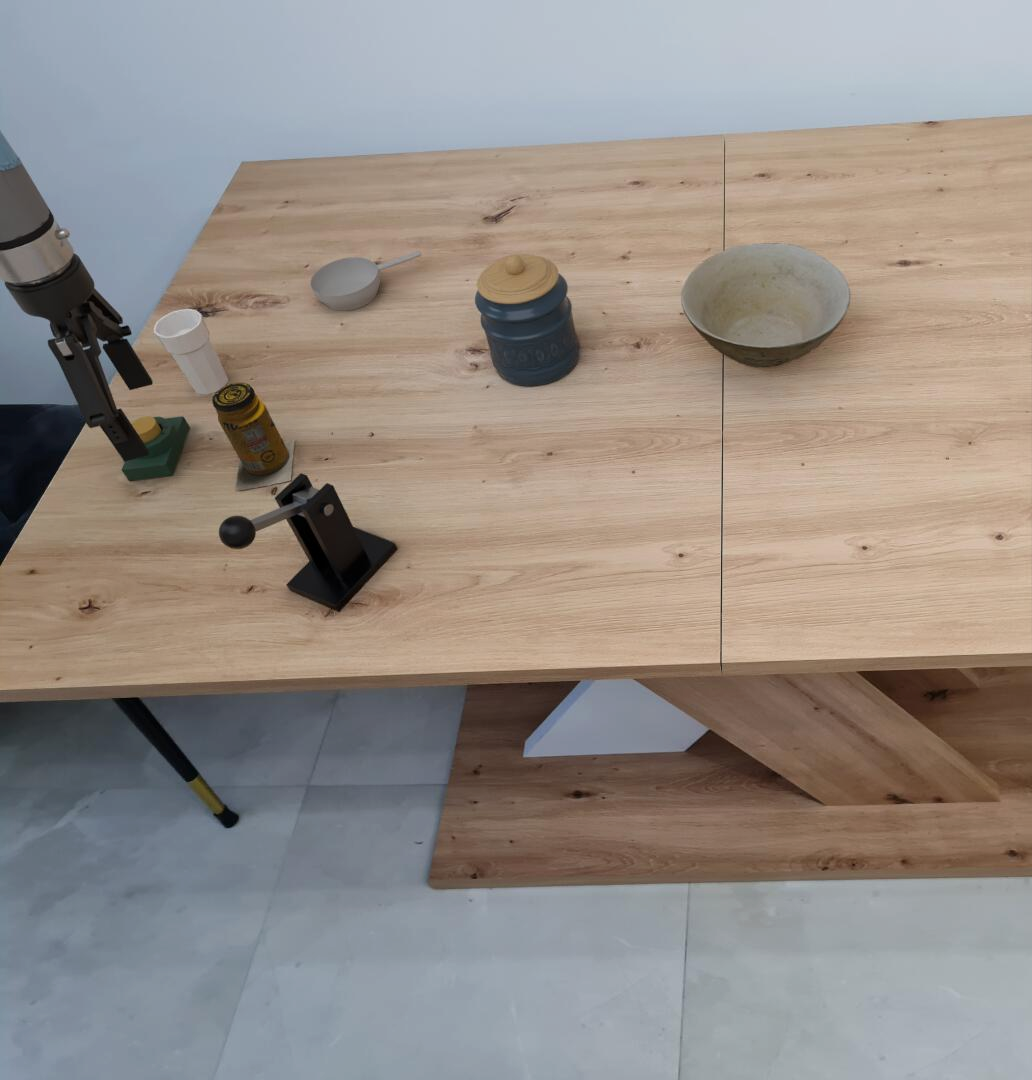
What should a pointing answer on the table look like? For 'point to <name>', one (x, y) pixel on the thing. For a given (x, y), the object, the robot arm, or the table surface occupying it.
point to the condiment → (253, 437)
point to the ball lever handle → (260, 521)
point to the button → (147, 428)
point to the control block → (160, 451)
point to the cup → (192, 349)
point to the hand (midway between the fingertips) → (139, 420)
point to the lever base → (331, 547)
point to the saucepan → (351, 281)
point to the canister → (527, 319)
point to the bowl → (765, 302)
